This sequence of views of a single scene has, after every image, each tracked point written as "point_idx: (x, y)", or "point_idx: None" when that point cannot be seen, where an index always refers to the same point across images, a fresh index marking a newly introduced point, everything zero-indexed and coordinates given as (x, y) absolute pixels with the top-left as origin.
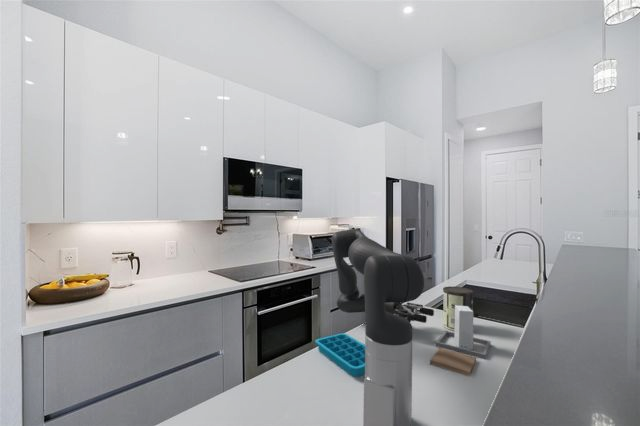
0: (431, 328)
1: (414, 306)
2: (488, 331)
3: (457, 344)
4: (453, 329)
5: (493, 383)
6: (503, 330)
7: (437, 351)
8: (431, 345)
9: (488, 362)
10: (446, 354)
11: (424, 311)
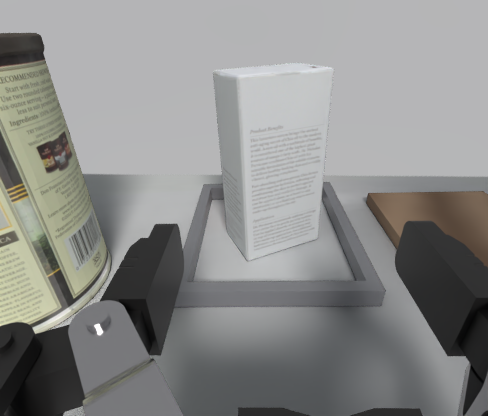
0: None
1: (173, 402)
2: None
3: (300, 238)
4: (99, 280)
5: (445, 177)
6: None
7: None
8: (396, 323)
9: (341, 189)
10: None
11: (161, 310)
